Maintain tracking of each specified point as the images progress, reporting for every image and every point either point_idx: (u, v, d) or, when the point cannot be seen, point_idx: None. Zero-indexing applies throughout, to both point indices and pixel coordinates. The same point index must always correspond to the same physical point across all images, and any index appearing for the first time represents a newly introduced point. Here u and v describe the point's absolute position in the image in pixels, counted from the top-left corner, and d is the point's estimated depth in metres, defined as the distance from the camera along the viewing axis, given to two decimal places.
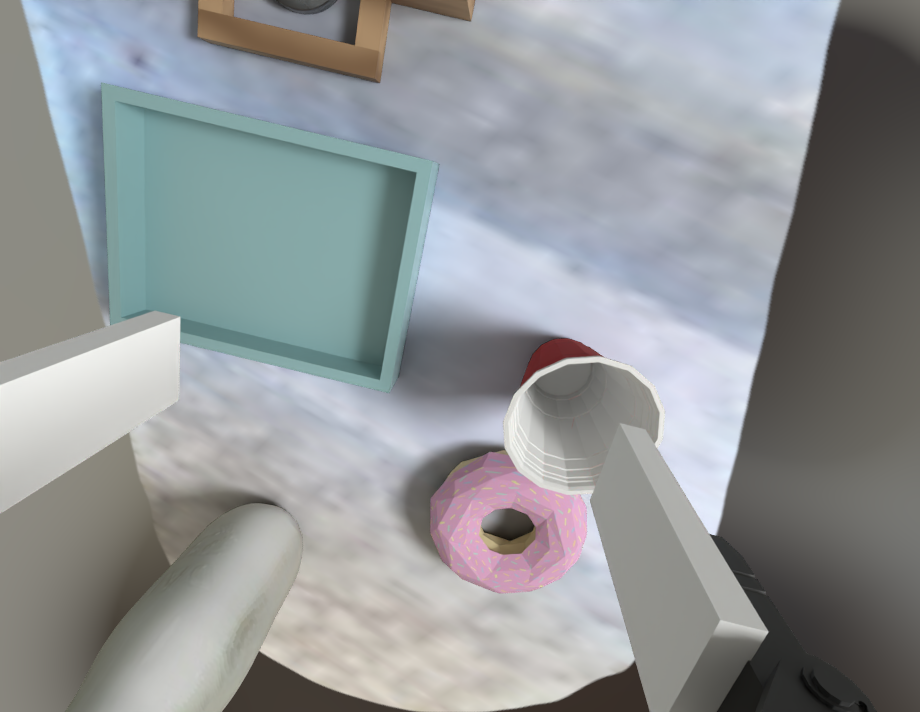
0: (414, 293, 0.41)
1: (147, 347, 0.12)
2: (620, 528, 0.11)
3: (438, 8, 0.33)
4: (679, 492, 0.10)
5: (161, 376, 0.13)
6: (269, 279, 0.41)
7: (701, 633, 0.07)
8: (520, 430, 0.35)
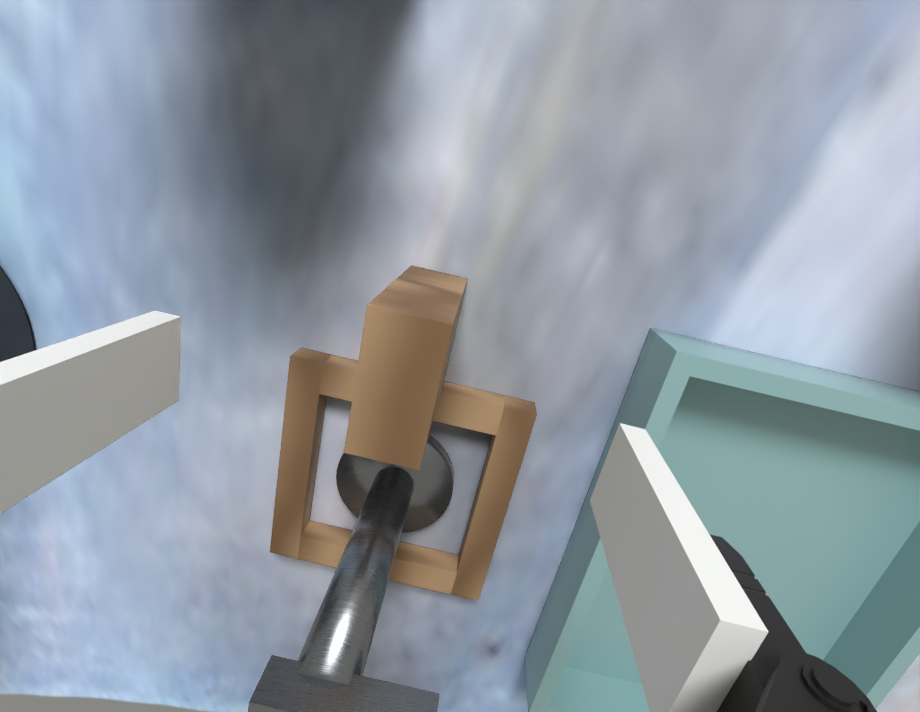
0: (848, 375, 0.25)
1: (148, 347, 0.12)
2: (620, 528, 0.11)
3: (456, 325, 0.24)
4: (679, 492, 0.10)
5: (161, 376, 0.13)
6: (779, 574, 0.28)
7: (701, 633, 0.07)
8: None
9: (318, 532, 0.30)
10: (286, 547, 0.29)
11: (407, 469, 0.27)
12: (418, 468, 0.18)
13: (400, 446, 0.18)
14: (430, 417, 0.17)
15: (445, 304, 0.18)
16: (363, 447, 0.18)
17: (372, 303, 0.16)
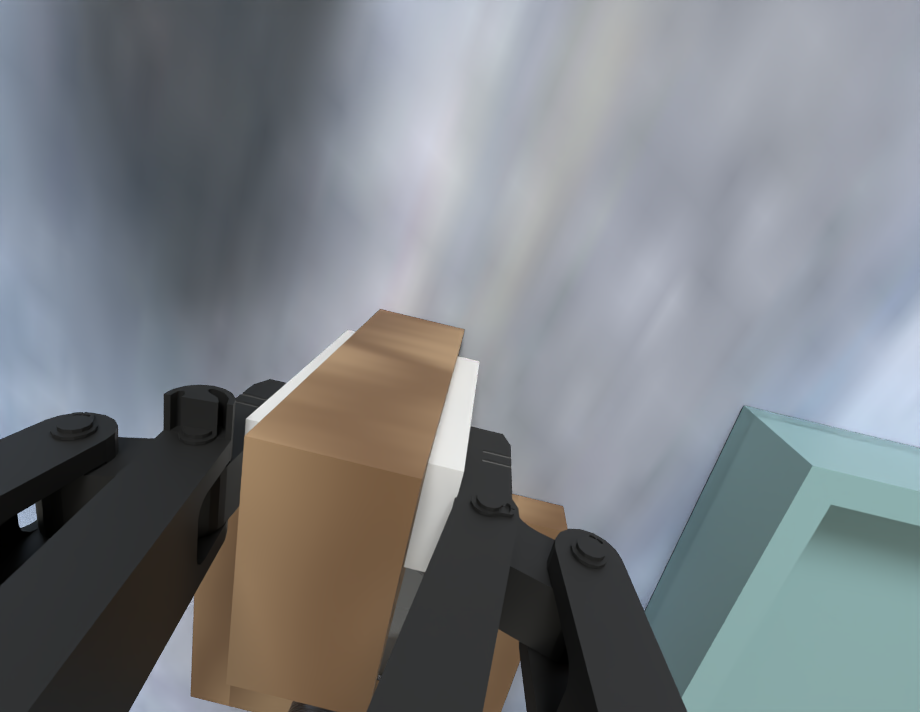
0: None
1: None
2: None
3: None
4: (469, 398, 0.13)
5: None
6: None
7: None
8: None
9: None
10: (212, 691, 0.21)
11: None
12: None
13: (329, 680, 0.09)
14: (383, 637, 0.09)
15: (418, 405, 0.10)
16: (260, 678, 0.10)
17: (259, 428, 0.08)
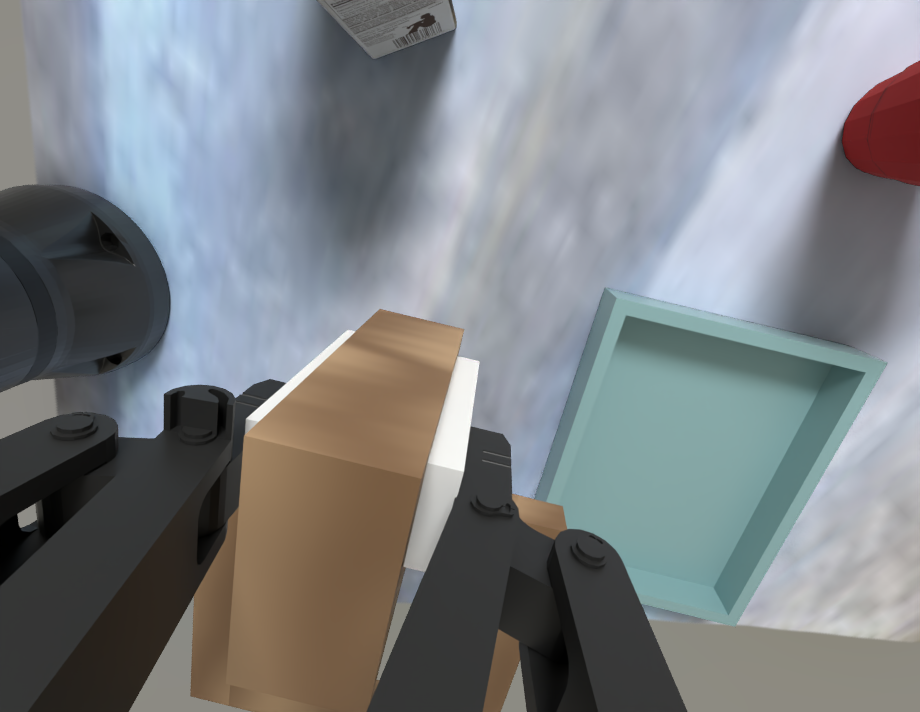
0: None
1: None
2: None
3: None
4: (469, 398, 0.13)
5: None
6: (702, 470, 0.39)
7: None
8: None
9: None
10: (212, 691, 0.21)
11: None
12: None
13: (328, 680, 0.09)
14: (382, 637, 0.09)
15: (417, 405, 0.10)
16: (260, 678, 0.10)
17: (259, 428, 0.08)
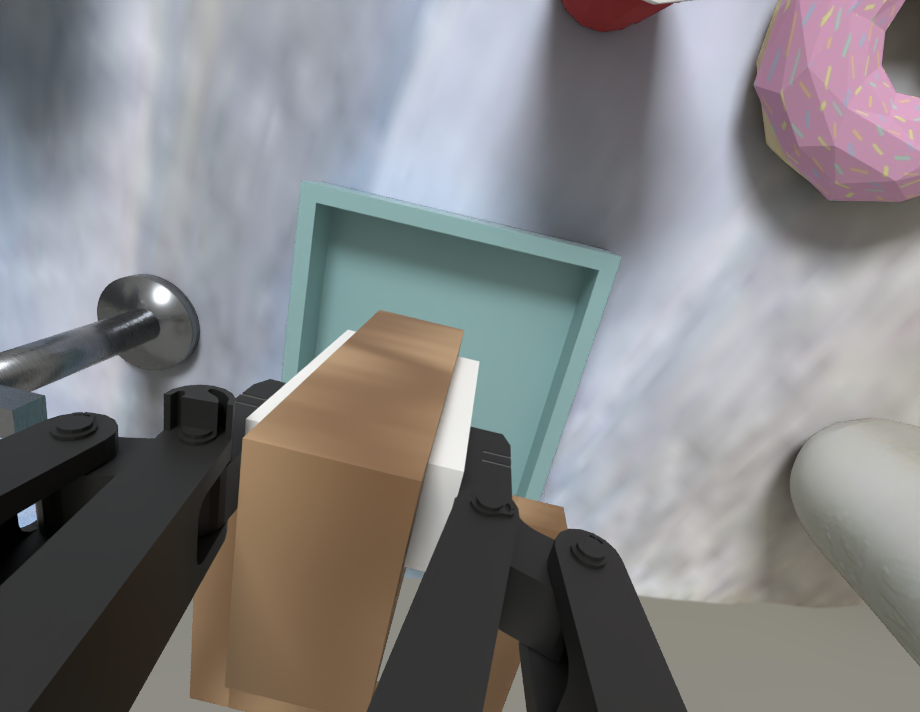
0: None
1: None
2: None
3: None
4: (469, 398, 0.13)
5: None
6: None
7: None
8: None
9: None
10: (211, 693, 0.21)
11: (152, 310, 0.33)
12: None
13: (328, 683, 0.09)
14: (382, 639, 0.09)
15: (417, 406, 0.10)
16: (259, 681, 0.09)
17: (258, 430, 0.08)
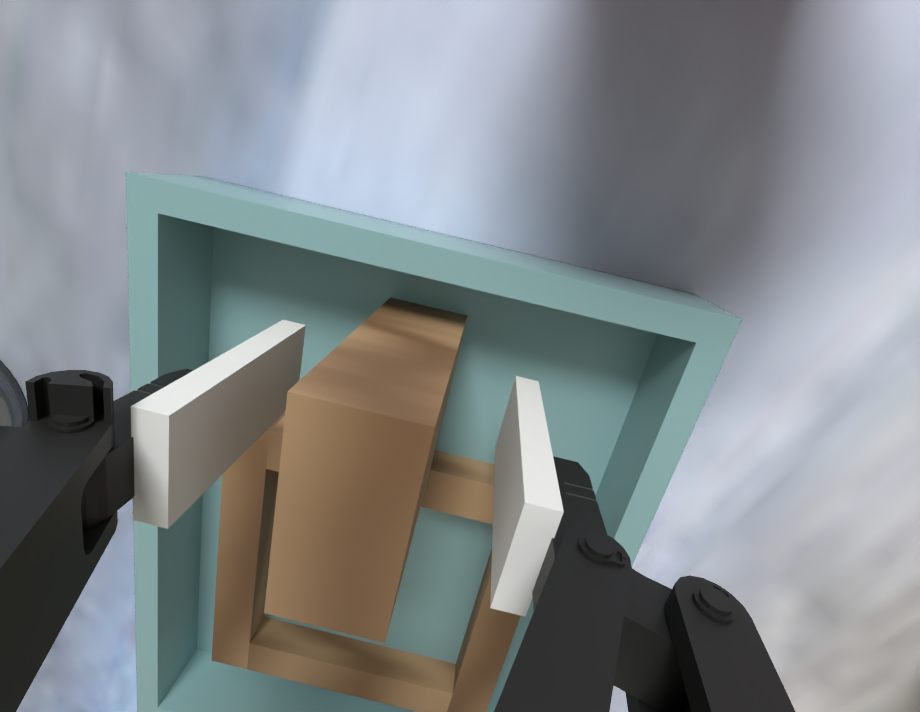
0: (480, 243, 0.18)
1: (286, 352, 0.14)
2: (502, 462, 0.13)
3: (451, 380, 0.17)
4: (542, 424, 0.12)
5: (290, 378, 0.15)
6: (449, 533, 0.21)
7: (517, 518, 0.09)
8: None
9: (273, 636, 0.23)
10: (232, 655, 0.23)
11: None
12: (382, 640, 0.11)
13: (353, 608, 0.11)
14: (400, 567, 0.10)
15: (428, 374, 0.12)
16: (294, 607, 0.11)
17: (298, 386, 0.10)
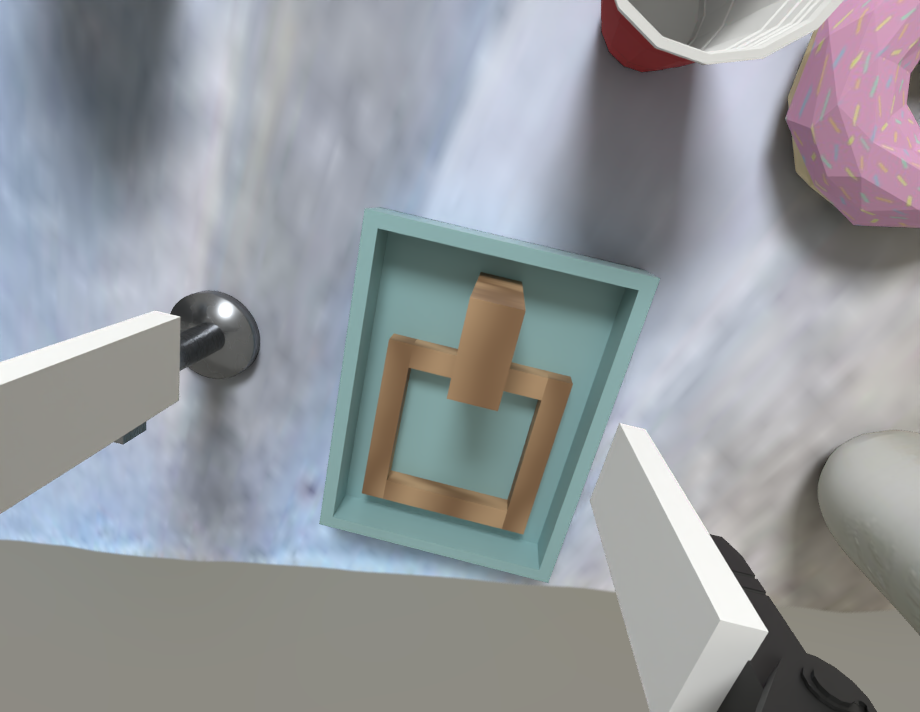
0: None
1: (147, 347, 0.12)
2: (620, 529, 0.11)
3: None
4: (679, 492, 0.10)
5: (161, 376, 0.13)
6: (506, 411, 0.36)
7: (701, 633, 0.07)
8: (737, 45, 0.20)
9: (398, 478, 0.38)
10: (374, 489, 0.38)
11: (218, 324, 0.36)
12: (497, 409, 0.26)
13: (485, 394, 0.26)
14: (507, 373, 0.26)
15: (515, 298, 0.27)
16: (460, 394, 0.26)
17: (472, 296, 0.25)
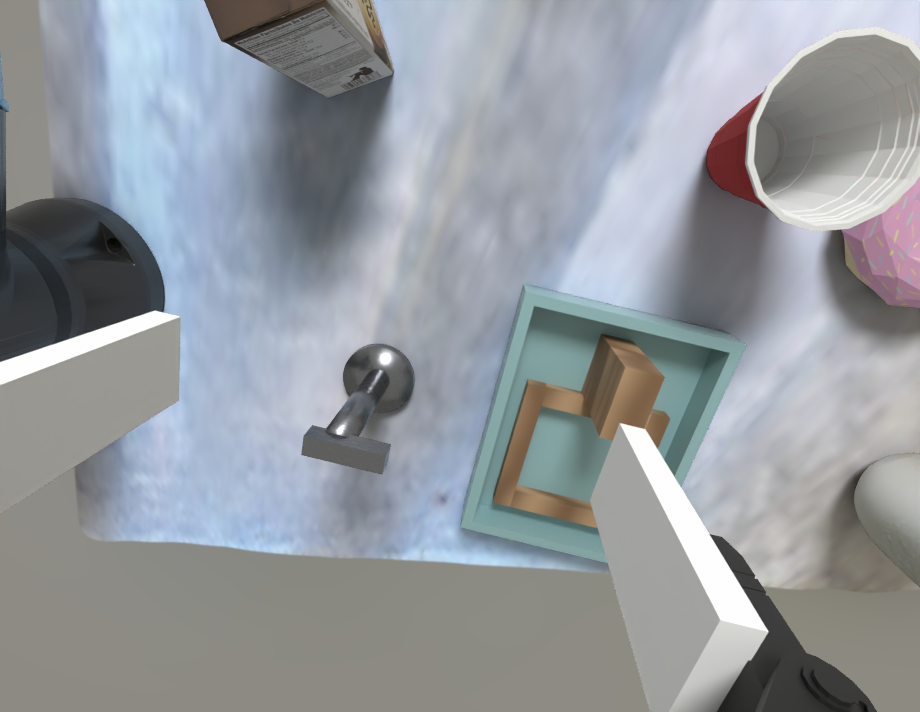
0: (638, 311, 0.43)
1: (148, 347, 0.12)
2: (620, 529, 0.11)
3: None
4: (679, 492, 0.10)
5: (161, 376, 0.13)
6: None
7: (701, 633, 0.07)
8: (825, 207, 0.31)
9: (522, 490, 0.48)
10: (504, 499, 0.48)
11: (385, 370, 0.46)
12: None
13: None
14: (646, 419, 0.36)
15: (648, 363, 0.37)
16: (609, 434, 0.36)
17: (625, 366, 0.35)
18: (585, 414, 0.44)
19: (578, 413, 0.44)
